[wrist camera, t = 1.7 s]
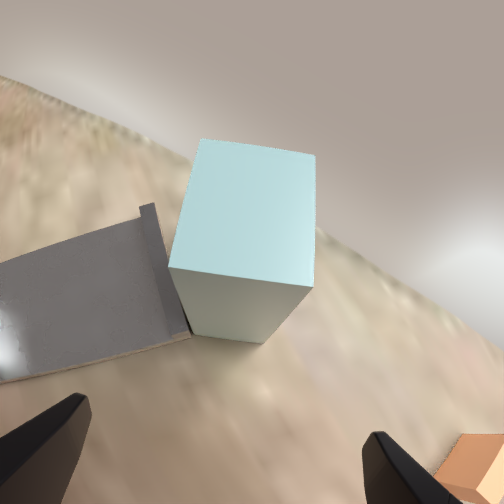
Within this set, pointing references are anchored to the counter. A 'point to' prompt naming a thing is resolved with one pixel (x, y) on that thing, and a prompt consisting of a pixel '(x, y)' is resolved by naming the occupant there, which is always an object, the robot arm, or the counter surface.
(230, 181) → the block
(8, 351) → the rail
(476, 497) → the block
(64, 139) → the counter surface
